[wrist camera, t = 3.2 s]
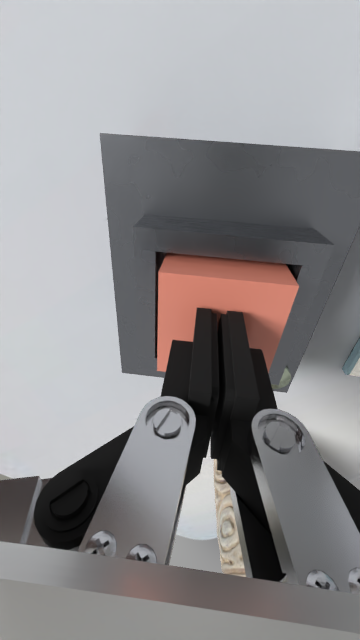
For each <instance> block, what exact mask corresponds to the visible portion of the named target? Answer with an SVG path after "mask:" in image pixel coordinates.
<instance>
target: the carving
mask: <svg viewBox="0 0 360 640" xmlns="http://www.w3.org/2000/svg"><path fill="white" fill-rule="evenodd" d="M214 486H215V503H216V517H217V537H218V543H219V548H220V553H221V554H220V560H221V567H222V572H223V573H224V574H229V575H236V576H242V577H246V573H245V568H244V562H243V557H242V552H241V547H240V541H239V536H238V531H237V526H236V520H235V515H234V510H233V504H232V499H231V494H230V485H229V484H228V483H227V482H226V481H225V479H224V478H223V477H222V471H219V470H217V459H214Z"/></svg>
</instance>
